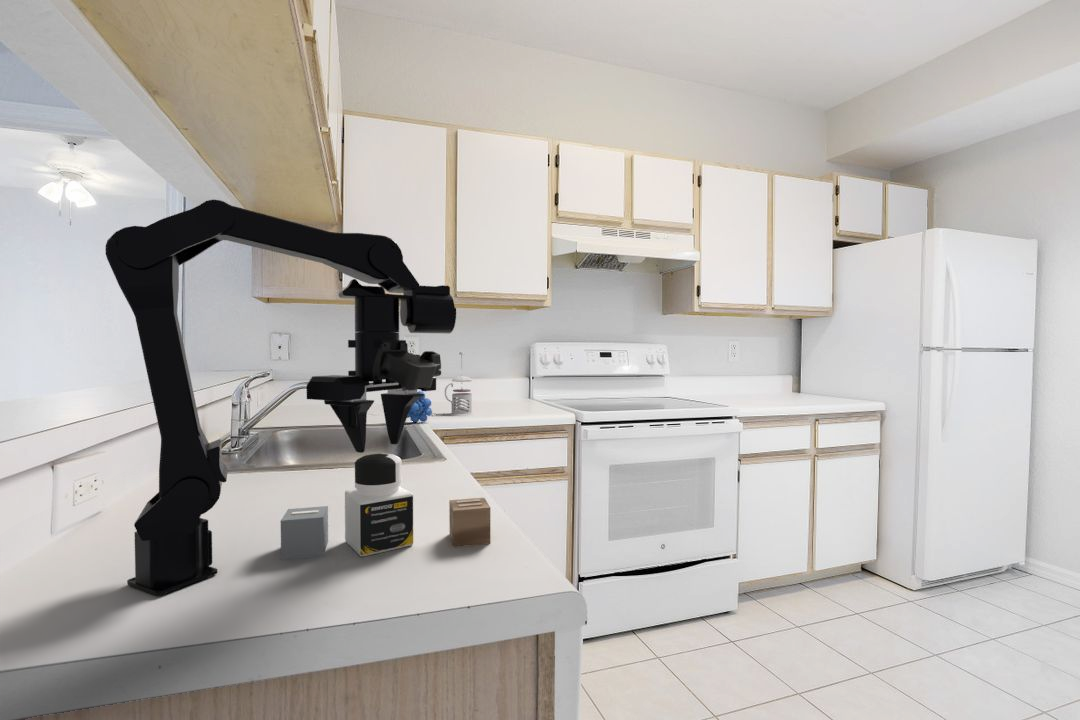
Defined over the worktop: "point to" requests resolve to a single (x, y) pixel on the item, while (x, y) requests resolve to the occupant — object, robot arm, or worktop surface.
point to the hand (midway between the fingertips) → (378, 448)
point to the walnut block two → (469, 522)
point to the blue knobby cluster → (420, 409)
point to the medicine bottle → (378, 507)
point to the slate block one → (304, 532)
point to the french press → (461, 397)
